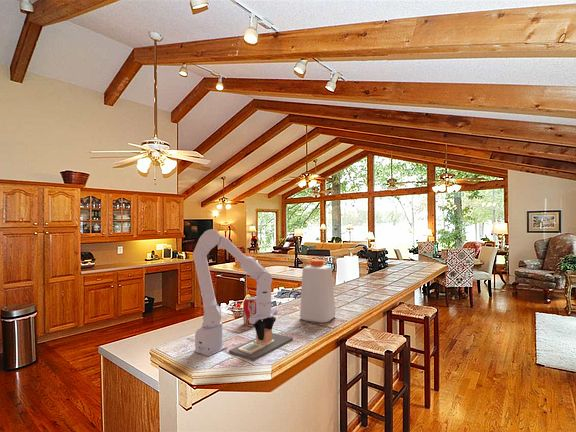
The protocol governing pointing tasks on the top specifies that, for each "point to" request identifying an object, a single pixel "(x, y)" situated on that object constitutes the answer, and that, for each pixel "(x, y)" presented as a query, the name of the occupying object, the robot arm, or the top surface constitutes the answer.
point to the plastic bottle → (317, 293)
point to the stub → (265, 337)
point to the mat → (277, 343)
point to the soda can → (249, 309)
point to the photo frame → (251, 347)
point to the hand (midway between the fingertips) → (264, 337)
